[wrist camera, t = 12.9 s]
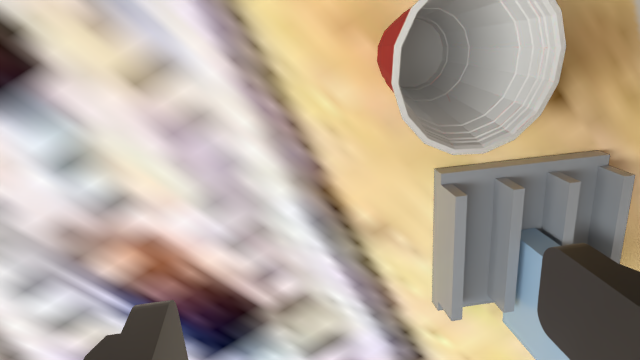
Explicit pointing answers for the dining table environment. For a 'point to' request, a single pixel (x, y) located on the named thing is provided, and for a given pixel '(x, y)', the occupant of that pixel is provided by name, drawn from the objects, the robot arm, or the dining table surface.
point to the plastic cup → (473, 69)
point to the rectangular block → (531, 298)
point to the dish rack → (519, 220)
